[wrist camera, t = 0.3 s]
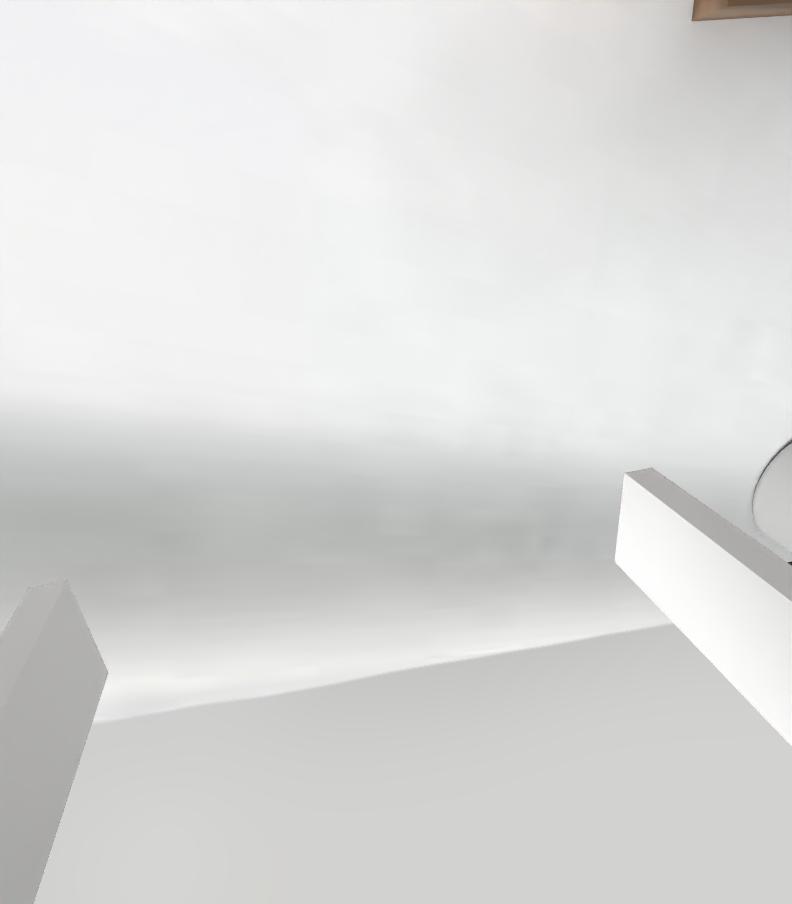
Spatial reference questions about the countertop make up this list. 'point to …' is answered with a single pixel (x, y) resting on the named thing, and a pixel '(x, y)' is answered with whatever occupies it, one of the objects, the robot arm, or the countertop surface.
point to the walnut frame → (739, 9)
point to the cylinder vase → (776, 500)
